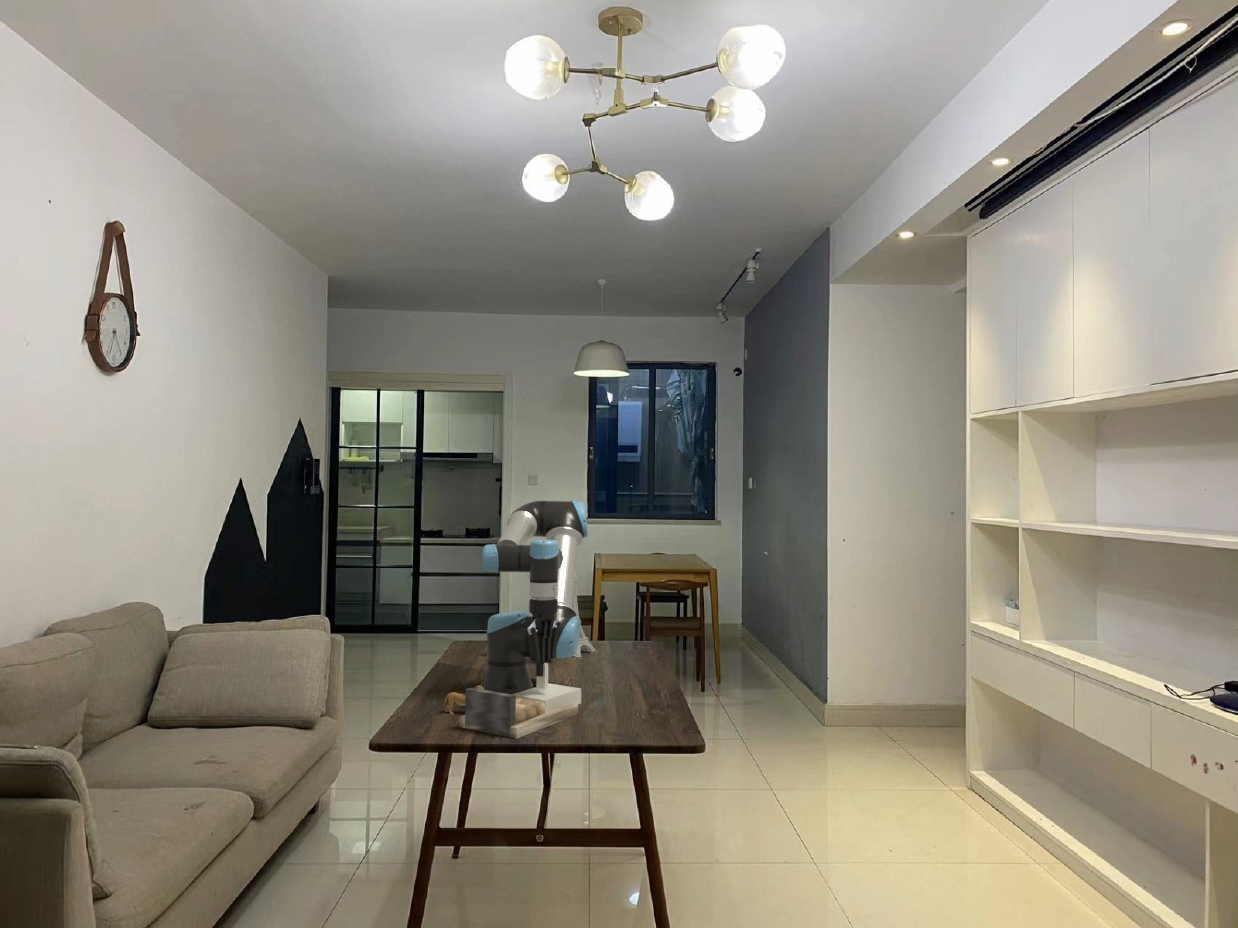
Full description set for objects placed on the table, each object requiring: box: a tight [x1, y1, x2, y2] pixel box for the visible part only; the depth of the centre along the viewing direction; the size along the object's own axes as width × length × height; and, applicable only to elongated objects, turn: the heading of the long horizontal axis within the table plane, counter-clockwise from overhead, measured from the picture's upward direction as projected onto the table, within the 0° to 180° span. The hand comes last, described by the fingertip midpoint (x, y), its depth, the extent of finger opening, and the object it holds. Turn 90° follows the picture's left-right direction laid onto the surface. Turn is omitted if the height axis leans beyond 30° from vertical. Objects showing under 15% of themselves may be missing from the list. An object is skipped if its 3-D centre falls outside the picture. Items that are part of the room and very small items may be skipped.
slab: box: [512, 682, 582, 714], centre depth 225 cm, size 11×16×4 cm
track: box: [458, 687, 579, 739], centre depth 215 cm, size 18×26×10 cm
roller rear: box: [516, 698, 545, 717], centre depth 217 cm, size 12×4×4 cm
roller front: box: [515, 709, 526, 725], centre depth 209 cm, size 12×4×4 cm, turn 59°
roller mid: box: [516, 703, 537, 721], centre depth 212 cm, size 12×4×4 cm, turn 56°
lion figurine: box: [438, 685, 484, 715], centre depth 221 cm, size 12×4×7 cm, turn 92°
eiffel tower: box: [572, 572, 597, 657], centre depth 304 cm, size 13×13×30 cm
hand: (542, 688), depth 223 cm, fingers closed
